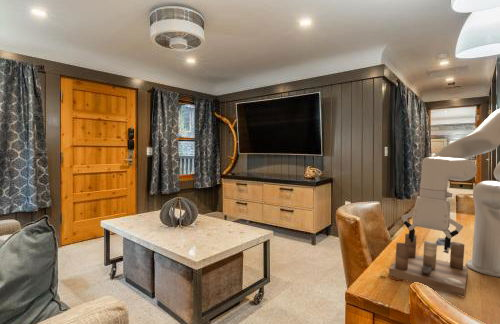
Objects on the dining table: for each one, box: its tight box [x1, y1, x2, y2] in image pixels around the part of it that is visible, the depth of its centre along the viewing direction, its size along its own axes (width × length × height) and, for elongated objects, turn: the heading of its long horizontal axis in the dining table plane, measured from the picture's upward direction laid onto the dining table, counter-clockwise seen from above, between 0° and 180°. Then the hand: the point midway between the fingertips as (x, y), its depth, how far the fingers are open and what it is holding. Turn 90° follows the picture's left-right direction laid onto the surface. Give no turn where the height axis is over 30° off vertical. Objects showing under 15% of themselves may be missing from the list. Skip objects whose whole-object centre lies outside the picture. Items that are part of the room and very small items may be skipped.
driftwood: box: [434, 237, 451, 253], centre depth 126 cm, size 21×7×2 cm, turn 136°
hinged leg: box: [422, 240, 438, 275], centre depth 92 cm, size 10×4×8 cm, turn 140°
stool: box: [388, 232, 469, 297], centre depth 95 cm, size 20×20×10 cm
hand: (428, 245), depth 94 cm, fingers open, 9 cm apart
